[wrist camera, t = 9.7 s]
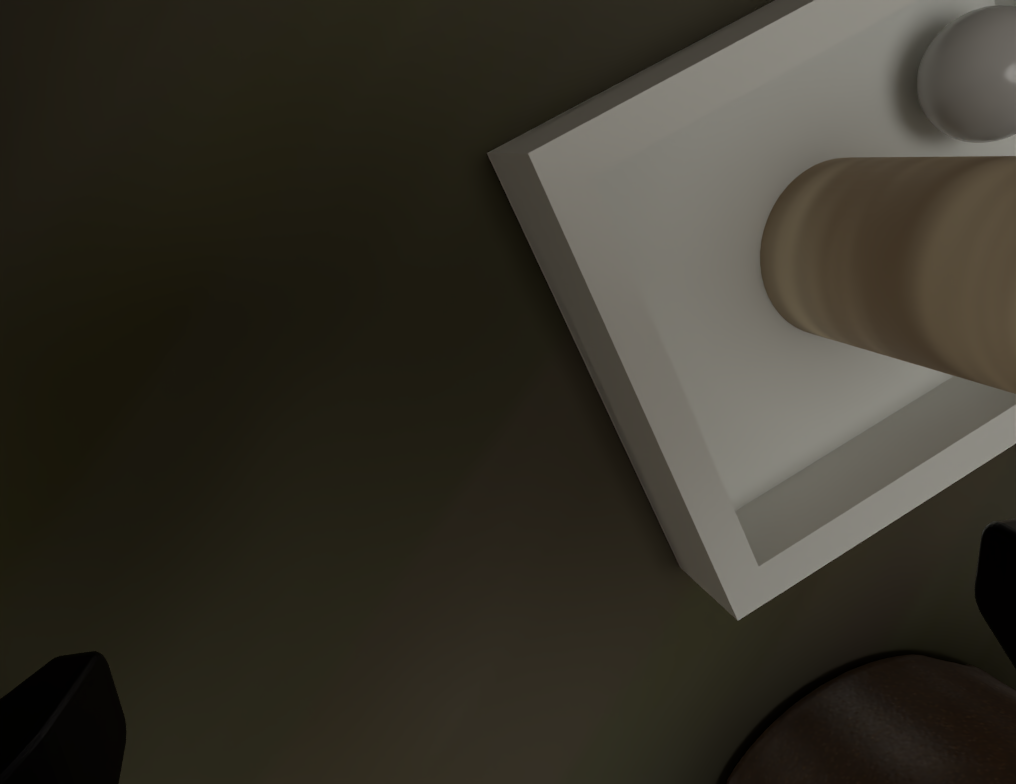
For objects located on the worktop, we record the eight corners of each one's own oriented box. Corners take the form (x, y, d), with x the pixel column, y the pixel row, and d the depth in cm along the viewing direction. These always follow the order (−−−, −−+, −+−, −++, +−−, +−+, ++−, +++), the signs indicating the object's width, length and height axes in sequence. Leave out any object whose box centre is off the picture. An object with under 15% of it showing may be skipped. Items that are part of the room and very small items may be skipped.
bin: (679, 567, 24) (737, 620, 22) (486, 153, 20) (528, 153, 17) (1084, 316, 26) (1184, 335, 24) (984, -111, 22) (1092, -149, 19)
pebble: (908, 164, 23) (1002, 166, 20) (874, 48, 22) (969, 33, 19) (1003, 110, 23) (1108, 104, 20) (974, -7, 22) (1081, -30, 19)
